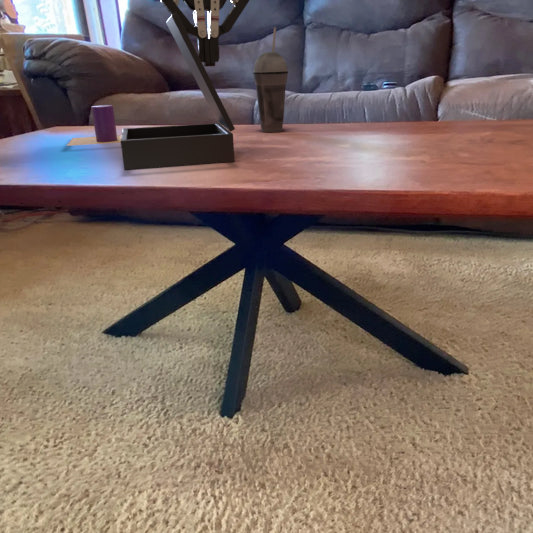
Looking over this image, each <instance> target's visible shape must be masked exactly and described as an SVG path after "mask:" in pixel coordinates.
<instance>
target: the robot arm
mask: <svg viewBox="0 0 533 533" xmlns="http://www.w3.org/2000/svg"><path fill="white" fill-rule="evenodd" d="M182 1H183V3H184V4H185V6H186V7H187V8H188V9H189V10H190V11H192V15H193V21H194V24H192V23H191V21H190V20H189V18H188V17H186V15H185V13H183V11H182V10H181V8H179V4H180V0H160V3H161V4H162V6H163V8H165V10H166V11H167V12H168V13H169V15H170V16H171V15H173V14H175V13H177V14H178V16H179V18H180V20H181V22H182V24H183V26H184V28H185V30H186V32H187V34H188V35H191V36H193V37H195V38H196V40H197V49H198V50H197V51H198V52H197V53H198V56H199V58H200V60H201V62H202V63H203V66H204V68H205V67H216V63H218V62H219V60H220V46H219V45H220V44H219V38H220V37H221V36H223V35H225V34H227V33H230V31H231V30H232V29H233V27H234V25H235V23H236V22H237V20H238V19H239V17H240V16H241V14H242V13H243V11H244V10H245V8H246V7H247V5H248V3H249V2H250V0H230V5H231V6H232V7H231V9H230V10H229V12H228V14H227V15H226V17H225V18H224V20H223V21H222V23H221V24H220V23H219V21H220V10H222V9H223V8H224V6H225V4H226V2H227V1H228V0H182ZM205 11H206V12H207V25H206V14H205ZM219 24H220V25H219Z"/></svg>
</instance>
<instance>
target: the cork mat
mask: <svg viewBox="0 0 533 533" xmlns="http://www.w3.org/2000/svg"><path fill="white" fill-rule="evenodd" d="M121 136H122V134H117V139H118V140H116V141H112V142H97V141H96V136H86V137H85V136H82V137H81V136H80V137H72V138H71V140H69V142H68V143H67V145H66V147H69V146H71V147H73V146H86V145H88V146H89V145H101V144H102V145H103V144H117V143H118V144H119V143H120V144H121Z"/></svg>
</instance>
